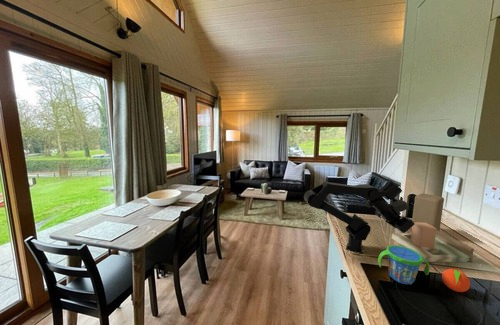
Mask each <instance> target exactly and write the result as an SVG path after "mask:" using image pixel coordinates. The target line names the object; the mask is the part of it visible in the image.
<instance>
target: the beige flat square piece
mask: <svg viewBox="0 0 500 325" xmlns="http://www.w3.org/2000/svg"><path fill="white" fill-rule="evenodd" d="M391 239H392V240H394V241H395V242H396V243H398V244H399V246H402V247H406V248H409V249H411V250H414V251H416V252H417V253H419V254H420V255H421V256H422V257H424V258H425V259H426V260H427V262H428V263H468V262H467V261H473V256H474V252H475V249H474V248H473V247H471V246H469V245H467V244H465V243H464V242H462V241H459V240H458V239H457V238H456V239H455V238H454V237H452V236H450V235H449V234H447V233H444V232H442V231H441V230H440V231H439V230H436V237H435V244H434V247H419V246H418V245H416V244H415V243H413V242H412V241H410V240H411V233H391ZM423 262H424V263H426V262H425V261H424V260H423ZM423 262H422V263H423Z"/></svg>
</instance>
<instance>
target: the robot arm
mask: <svg viewBox="0 0 500 325" xmlns="http://www.w3.org/2000/svg"><path fill="white" fill-rule="evenodd" d="M331 193H335V194H342V195H350V196H351V195H352V196H357V197H359V198H361V199H365V207H367V208H370V209H371V208H374V209H375V210H374V214H375V215H376V217H377V218H379V219H384V222H385V223H386V224H388V225H390V227H391V226H392V227H393V228H395V229H396V230H397V231H399V232H401V234H406V232H408V231H409V230H410V229H411V227H412V226H413V225H415V223H414V222H413V221H412V219H411V218H409V217H407V216H403V215H401V213H402V212H404V211H408V210H409V208H410V207H409V206H408V202H407V201H405V200H404V199H399V198H396V197H398V196H399V195H400V194H401V193H403V190H402V188H401V187H399V186H398V185H397V184H395V183H394V182H392V181H390V180H388V181H386V183H385V184H384V185H383V186H382V187H381V188H378V187H374V186H372V185H370V184H366V183H363V184H362V183H361V184H356V185H354V184H353V185H351V184H344V183H343V184H342V183H338V182H337V183H336V182H329V181H324V182H323V183H321V184H319V185H317V186H314V187H313V188H311V189H310V190H306V191H305V193H304V195H303V199H304V201H305V202H306V203H307V205H308V206H310V207H312V208H314V209H317V210H322V211H324V212H325V213H328V214H329V215H330V216H333V217H335V218H336V219H338V220H339V221H341V222H343V223H345V224H346V226H345V231H346V233H348V240H347V244H346V246H345V249H346V250H348V251H351V250H352V251H351V252H354V251H356V252H355V253H358V252H359V254H362V253H363V249H364V246H363V241H366V240H367V238H368V236H369V234H370V232H371V230H372V228H371V226H370V225H369V222H368V221H366V220H365V219H363V218H362V217H361V216H358V215H357V214H356V213H353V215H351V214H348V213H346V212H344V211H343V210H341V209H339V208H338V207H336V206H335V205H333V204H330V203H329V202H327V201H326V200H325V199H326V198H327V197H328V196H329V194H331ZM388 201H389V202H388Z"/></svg>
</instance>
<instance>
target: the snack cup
mask: <svg viewBox="0 0 500 325" xmlns="http://www.w3.org/2000/svg"><path fill="white" fill-rule="evenodd" d="M384 256H387V260H388V261H387V263H388V264H387V265H388V275H389V276H390V278H392V279H393V281H396V282H398V284H402V285H403V284H404V285H410V286H412V284H413V283H414V282H415V281H416V277H417V275H418V272H419V269H420V267H421V265H422V264H423V260H424V261H425V262H424V263H425V266H424V269H423V272H424V274H425V276H429V274H430V271H431V270H430V268H431V267H430V264H429V263H430V262H427V260H426V259H425V258H424V257H422V256H421V255H420V254H419V253H417V252H416V251H414V250H411V249H409V248H406V247H403V246H402V245H388V246H387V248H386V249H384V250H383V251H381V252H380V254H379V255H378V258H377V264H378V266H379V268H382V260H383V257H384Z"/></svg>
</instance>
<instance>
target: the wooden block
mask: <svg viewBox="0 0 500 325" xmlns="http://www.w3.org/2000/svg"><path fill="white" fill-rule="evenodd" d="M444 204H445V198H444V197H443V196H438V195H432V194H428V193H424V192H423V193H420V194H417V195H415V197H414V204H413V209H412V210H413V212H412V219H411V220H412V221H413V222H414V223H427V224H429V225H431V226H433V227H435V228H437V230H439V231H440V232H441V230H440V229H441V223H442V217H443V209H444ZM410 229H411V231H412V227H411V228H410Z"/></svg>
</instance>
